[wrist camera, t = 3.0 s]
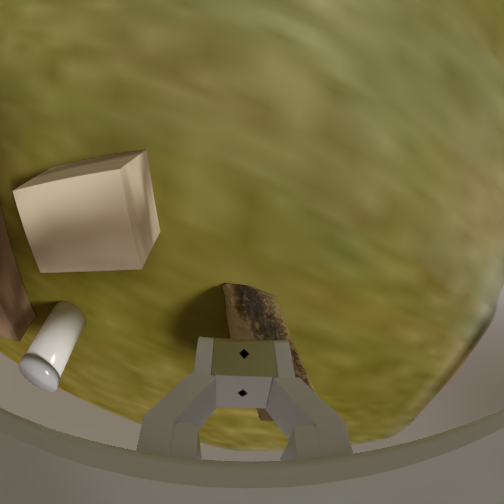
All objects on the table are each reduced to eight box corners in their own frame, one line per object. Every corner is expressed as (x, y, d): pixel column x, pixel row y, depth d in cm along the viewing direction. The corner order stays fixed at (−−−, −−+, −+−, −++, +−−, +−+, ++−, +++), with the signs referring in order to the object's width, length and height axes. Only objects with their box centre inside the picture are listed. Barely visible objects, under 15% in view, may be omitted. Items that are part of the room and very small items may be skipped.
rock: (297, 395, 28) (355, 343, 22) (248, 453, 22) (306, 418, 16) (221, 327, 32) (255, 260, 26) (160, 369, 25) (180, 302, 19)
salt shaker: (49, 298, 24) (11, 357, 17) (80, 302, 24) (45, 368, 17) (60, 326, 26) (29, 385, 19) (90, 332, 26) (62, 395, 19)
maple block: (51, 167, 18) (12, 190, 14) (147, 149, 18) (119, 169, 14) (70, 238, 21) (40, 272, 17) (160, 230, 21) (141, 269, 17)
